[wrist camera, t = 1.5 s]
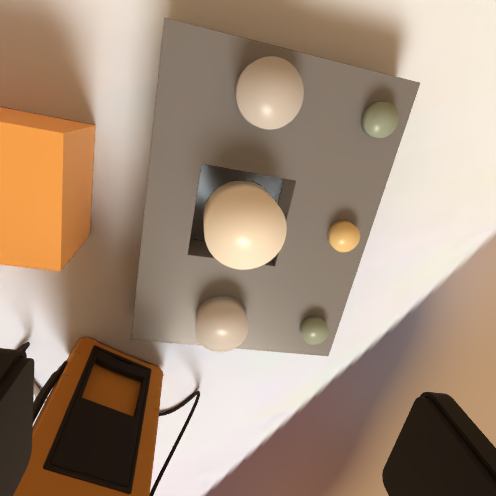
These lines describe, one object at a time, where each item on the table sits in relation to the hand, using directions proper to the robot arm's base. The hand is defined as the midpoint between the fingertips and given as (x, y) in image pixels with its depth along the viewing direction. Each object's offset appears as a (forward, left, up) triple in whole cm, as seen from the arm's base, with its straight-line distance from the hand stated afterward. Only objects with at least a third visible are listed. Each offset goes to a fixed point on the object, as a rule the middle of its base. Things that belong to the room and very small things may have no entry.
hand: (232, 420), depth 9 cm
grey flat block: (-1, +3, -19) cm, 19 cm away
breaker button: (-1, +2, -16) cm, 16 cm away
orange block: (-1, -12, -19) cm, 22 cm away
